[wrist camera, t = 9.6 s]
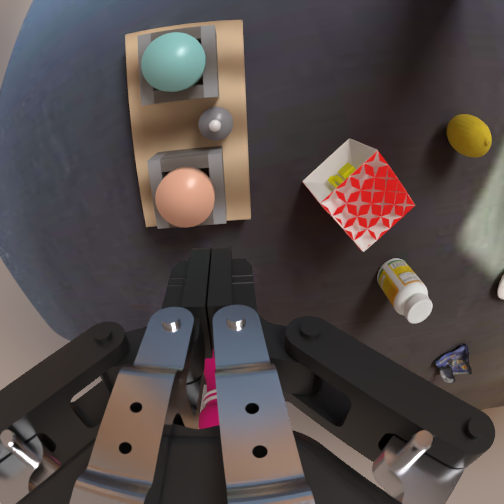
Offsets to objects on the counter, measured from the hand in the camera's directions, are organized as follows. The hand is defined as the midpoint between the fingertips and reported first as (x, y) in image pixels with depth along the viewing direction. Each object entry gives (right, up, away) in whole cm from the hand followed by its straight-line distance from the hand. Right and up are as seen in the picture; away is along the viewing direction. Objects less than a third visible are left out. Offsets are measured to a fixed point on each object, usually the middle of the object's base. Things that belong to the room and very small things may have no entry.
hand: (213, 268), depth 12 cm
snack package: (+47, -24, +46) cm, 70 cm away
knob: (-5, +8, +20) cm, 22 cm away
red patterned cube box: (+13, +9, +25) cm, 29 cm away
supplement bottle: (+22, -2, +32) cm, 39 cm away
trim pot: (-2, +14, +17) cm, 22 cm away
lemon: (+29, +17, +21) cm, 40 cm away
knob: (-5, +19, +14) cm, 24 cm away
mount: (-5, +15, +20) cm, 25 cm away
